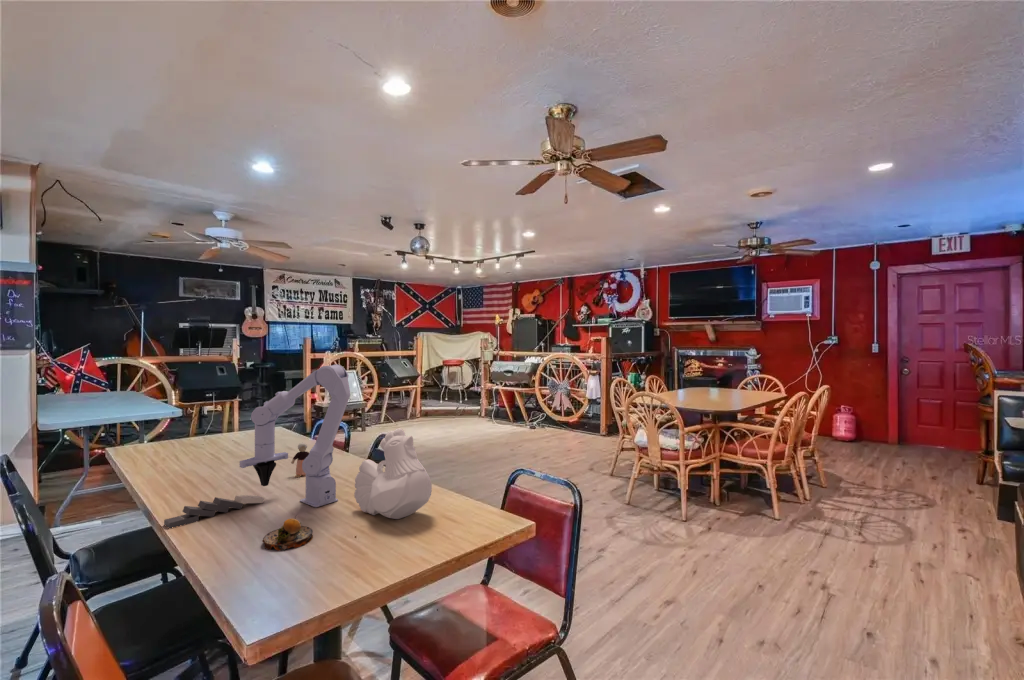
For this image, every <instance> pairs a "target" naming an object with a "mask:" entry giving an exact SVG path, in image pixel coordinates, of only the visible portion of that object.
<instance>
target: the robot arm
mask: <svg viewBox="0 0 1024 680" xmlns="http://www.w3.org/2000/svg"><path fill="white" fill-rule="evenodd" d="M317 386H322V387H323V388H324V389H325V390H327V392H328V393H329V395H330V397H331V399H330V402H329V404H328V407H327V410H326V412H325V415H324V418H323V421H322V424H321V426H320V429H319V433H318V435H317V438H316V440H315V443H314V445H313V446H312V447H311V449H310V450H309V455H308V456H307V457H306V458H305V459H304V461H303V463H302V469H303V471H304V472H305V473H306V476H305V497H304V498H302V499H299V502H301V503H303V504H306V505H309V506H311V507H312V508H313V507H314V508H318V507H322V506H325V505H328V504H331V503H335V502H338V501H339V498H336V495H337V494H336V492H337V491H336V489H337V488H336V487H337V483H336V479H335V478H334V477H333V476H332V475H331V472H330V471H331V470H330V466H331V465H332V464H333V459H334V457H333V452H334V447H333V444H334V442H335V440H336V437H337V433H338V431H339V428H340V425H341V422H342V420H343V416H344V414H345V411H346V408H347V405H348V402H349V399H350V396H351V390H350V385H349V373H348V372H347V370H346V369H345V367H343V366H342V365H341V364H338V363H337V364H331V365H322V366H321V367H319V368H318V369H317V370H314V371H312V372H311V373H310V374H308V375H307V376H306V377H305V378H304V379H303V380H301V381H299V383H297V384H296V385H295V386H294V387H292V388H290V390H288V391H286V390H283V391H277V392H276V393H274V395H275V396H274V397H272V398H270V399H269V400H266V401H265V402H263V406H257V407H255V408H254V409H253V411H252V412H251V416H250V420H251V422H252V423H254V457H253V456H252V457H249V458H247V459H243V460H239V468H240V469H241V468H242V469H245V468H247V467H252V466H253V468H254V470H255V471H256V474H257V476H258V478H259V481H260V486H262V487H267V486H269V485H270V480H271V476H272V473H273V471H274V470H275V468H276V466H277V462H275V461H280V460H288V459H289V452H286V451H284V452H278V453H275V450H276V449H275V448H276V447H275V444H276V442H275V440H276V439H275V438H276V435H275V433H276V421H277V419H278V418H279V417H280V416H281V415H282V414H284V413H285V412H286V411H287V410H289V409H290V408H292V407H293V406H294V405H295V403H296V399H298V398H299V397H301V396H302V395H304V394H305V393H307V392H308V391H310V390H311V389H313V388H315V387H317Z"/></svg>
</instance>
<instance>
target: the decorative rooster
mask: <svg viewBox="0 0 1024 680" xmlns="http://www.w3.org/2000/svg"><path fill="white" fill-rule="evenodd" d="M379 445H380V448H381V449H382V450H383V455H384V460H381V461H379V463H378V464H377V463H376V462H375V461H374V460H371V459H364V460H363V461H362V462H361V464H360V465H359V468H358V470H359V472H358V473H357V474H356V475H355V479H354V488H355V490H354V495H353V496H354V498H355V501H356V503H357V504H358V506H359V508H360V510H361V511H362V512H363V513H368V514H369V515H372V516H376V515H378V514H380V515H382V516H384V517H386V518H388V519H395V520H399V519H403V518H406V517H408V516H411V515H413V514H414V513H416V512H417V511H418V510H420V509H421V508H422V507H424V506H425V505H426V504H427V503H428V502H429V499H430V498H431V496H432V491H433V490H432V489H433V488H432V485H433V484H432V480H431V477H430V475H429V474H428V471H427V470H426V468H425V467H424V466H423V464H422V463H421V462H420V460H419V459H418V455H417V452H416V447H415V446H414V438H413V436H412V435H409V436H408V435H407V436H406V433H405V430H403V428H401V427H399V428H396V429H395V430H390V431H389V432H387V433H386V434H385V436H384V438H382V439H381V441H380V444H379ZM384 466H385V468H384V470H383V467H384Z"/></svg>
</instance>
